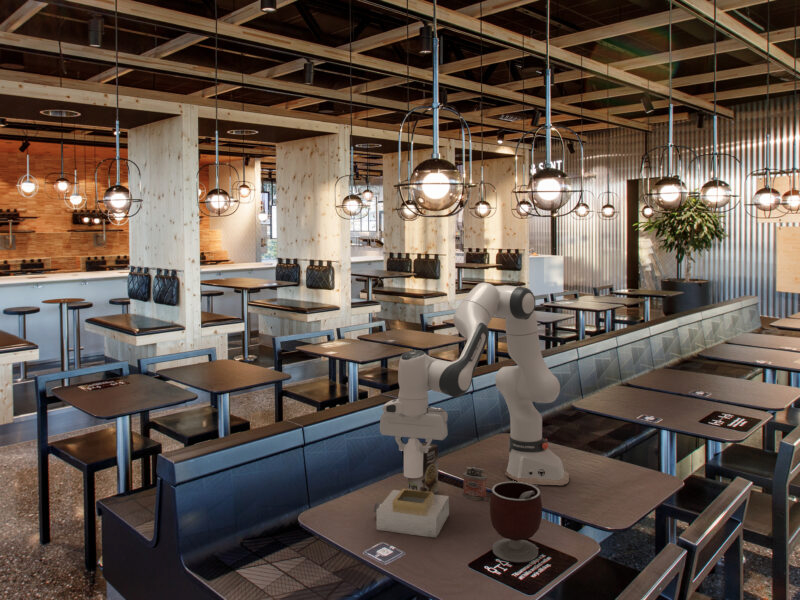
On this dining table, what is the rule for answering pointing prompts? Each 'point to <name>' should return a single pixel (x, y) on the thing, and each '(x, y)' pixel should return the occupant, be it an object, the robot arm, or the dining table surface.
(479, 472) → the lighter
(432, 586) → the dining table surface
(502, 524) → the mate gourd
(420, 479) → the coffee box
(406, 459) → the roll
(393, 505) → the white box
